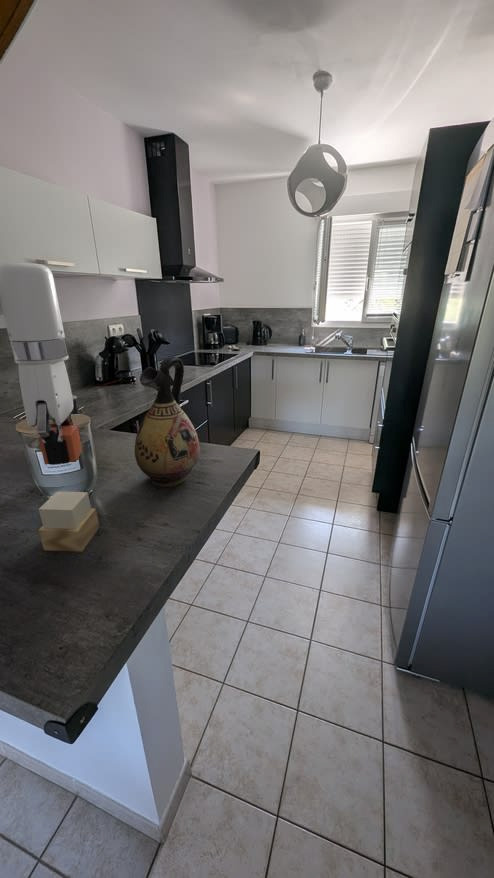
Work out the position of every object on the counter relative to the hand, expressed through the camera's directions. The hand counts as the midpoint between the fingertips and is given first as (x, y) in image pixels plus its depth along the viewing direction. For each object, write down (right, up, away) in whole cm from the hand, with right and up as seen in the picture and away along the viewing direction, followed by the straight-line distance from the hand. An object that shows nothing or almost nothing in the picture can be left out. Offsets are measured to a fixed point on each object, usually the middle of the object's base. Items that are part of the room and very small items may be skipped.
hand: (63, 455), depth 62 cm
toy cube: (0, 0, 0) cm, 0 cm away
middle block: (-1, -12, +4) cm, 13 cm away
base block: (-1, -16, +5) cm, 17 cm away
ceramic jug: (+13, -7, +28) cm, 32 cm away
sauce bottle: (-11, -5, +32) cm, 34 cm away
